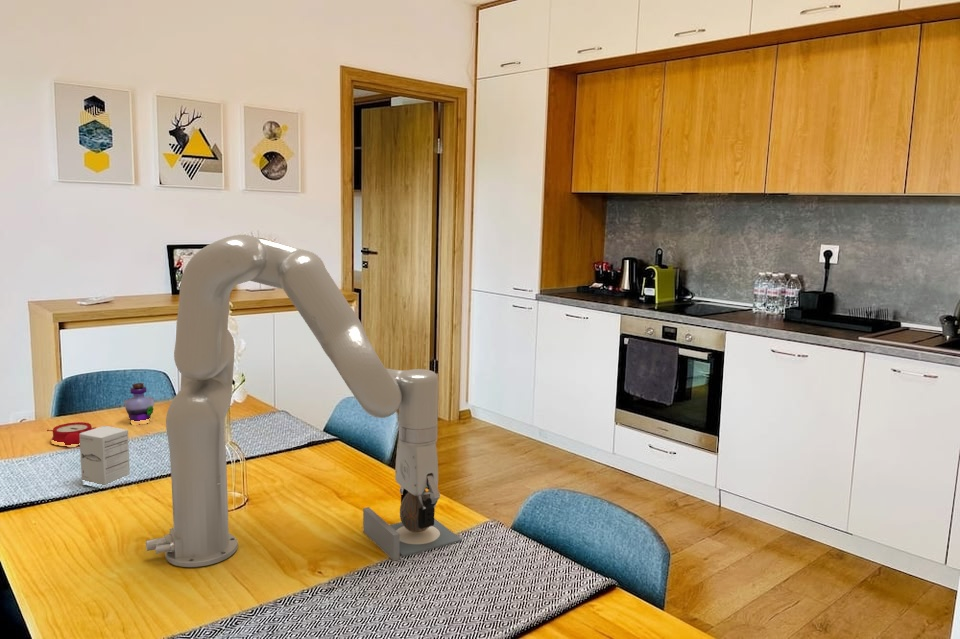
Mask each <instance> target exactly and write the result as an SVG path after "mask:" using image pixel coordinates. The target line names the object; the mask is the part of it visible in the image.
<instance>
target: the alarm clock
mask: <svg viewBox="0 0 960 639" xmlns="http://www.w3.org/2000/svg"><path fill="white" fill-rule="evenodd" d="M95 428H97V427H92V424H91V423H89V422H82V421H80V422H79V421H78V422H67V423H62V424H58V425H56V426H54V427H53V428H52V429H47V430H46V431H47V432H52V438H51V440H54V441H57V442H64V443H65V445H71V444H79V443H80V437H79V434H80V433H82V432H86V431H89V430H92V429H95Z"/></svg>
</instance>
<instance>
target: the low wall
mask: <svg viewBox="0 0 960 639" xmlns="http://www.w3.org/2000/svg"><path fill="white" fill-rule="evenodd" d="M362 509H363V510H362V511H363V515H362V516H363V517H362V518H363V519H362V521H363V522H362V524H363V525H362V528H363V529H362V531H363V533H364V534H365V535H366V536H367V537H368V538H369V539H370V540H371V541H372V542H373V543H374V544H375V545H376V546H377V547H378V548H379V549H381V550H382V551H383V553H385V555H387V556H388V557H389V558H390V559H391V561H393V562H394V561H399V560H400V554H399V543H400V534H399V533H398V532H397V531H396V530H394V529H393V528H392V527H391V526H390V525H391V524H389V523H388V522H386V521H385V520H384V519H383V518H382V517H381V516H380V515H378V513H376V512H375V511H374V510H373V509H371V507H369V506H367V507H363V508H362Z"/></svg>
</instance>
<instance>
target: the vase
mask: <svg viewBox="0 0 960 639" xmlns="http://www.w3.org/2000/svg"><path fill="white" fill-rule="evenodd" d="M424 492H427V489H424ZM428 498H429V495H424V500H425V501H426V500H427V499H428ZM419 508H421V506H420V501H419V496H414V495H412V494H411V493H410V492H408V493H407V494H406V495H405V497H404V498H403V500H402V502H401V501H400V506H399V519H400V521H401V522H402V524H403V525H404V527H405V528H406V529H407V530H409V531H411V532H423V531H425V530H426V529H428V528H429V527H426V528H422V529H420V528H419V527H418V518H419ZM435 510H436V507H434V515H435V514H436V513H435Z"/></svg>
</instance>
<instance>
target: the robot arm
mask: <svg viewBox="0 0 960 639" xmlns="http://www.w3.org/2000/svg"><path fill="white" fill-rule="evenodd" d="M247 282H254V283H258V284H262V285H263V286H264V285H265V286H269V287H273V288H277V289H282V290H283V291H284V293H285V295H286V296H287V297H288V299H289V300H290V302H291V303H292V305H293V306H294V307H295V309H296V311H298V312H297V313H299V315H300V317H302V319H303V320H304V322H305V323H306V325H307V326H308V328H309V330H311V332H312V334H313V335H314V337H315V338H316V340H317V342H318V343H319V345H320V347H321V348H322V350H323V352H324V353H325V354H326V356H327V357H328V358H329V360H330V361H331V362H332V364H333V365H334V366H333V367H335V368H336V371H337V372H338V374H339V375H340V377H341V378H342V380H343V382H344V383H345V385H346V386H347V387H348V389H349V391H350V392H351V393H352V395H353V396H354V397H355V399H356V401H357V402H358V404H359V405H360V406H361V408H362V410H364V412H365V413H366V414H368V415H370V417H373V418H378V419H384V418H388V417H391V416H393V415H395V413H396V412H398V441H397V446H396V447H397V448H396V458H395V469H394V470H395V472H394V474H395V477H394V478H395V482H396V483H397V484H398V485H399V486H400V488H399V493H400V503H401V502H402V500H403V498H404V497H405V495H406V494H407V493H408V492H410V493H411V494H412V495H414V496H419V501H420V506H421V508H419V518H418V527H419V528H420V529H422V528H426V527H430V526H433V525H434V518H435V514H434V507H435V508H436V506H437V503H438V501H439V499H440V498H441V494H440V493H441V492H440V491H439V489H438V487H439V486H438V484H439V464H438V449H437V442H438V421H439V420H438V416H439V415H438V412H439V409H438V408H439V406H438V405H439V376H438V374H436V372H435V371H433V370H430V369H424V368H413V369H406V370H403V369H402V370H401V369H400V370H399V369H392V368H386V366H385V365H384V364H383V362H382V361H381V359H380V357H379V355H378V354H377V352H376V351H375V349H374V347H373V345H372V343H371V341H370V340H369V337H368V336H367V333H366V332H365V328H364V326H363V324H362V322H361V320H360V319H359V316H358V315H357V314H356V312H355V310H354V309H353V308H352V306H351V305H350V304H349V302H348V301H347V299H346V297H345V296H344V294H343V293H342V291H341V290H340V288H339V286H338V285H337V284H336V282H335V281H334V279H333V277H332V275H330V273H329V272H328V270H327V269H326V266H325V263H324V261H323V260H322V258H321V257H320V256H318V255H317V254H316V253H314V252H313V251H309V250H304V249H301V248H297V247H292V246H288V245H284V244H281V243H278V242H274V241H272V240H267V239H264V238H261V237H257V236H254V235H249V234H236V235H231V236H227V237H224V238H222V239H219V240H217V241H214V242H212V243H209V244H208V245H207V244H206V246H204V247H203V248H201V249H199V250H198V251H197V252H196V253H195V254H194V255H193V256H192V257H191V258H190V259H189V261H188V262H187V264H186V266H185V268H184V270H183V273H182V276H181V281H180V285H179V287H180V288H179V296H178V309H177V318H176V333H175V344H174V352H173V358H174V359H173V360H174V363H175V367H176V368H177V370H178V372H179V373H180V387H179V388H180V390H179V391H178V392H177V394H176V395H175V396H174V397H173V399H172V401H171V402H170V404H169V406H168V408H167V412H166V417H165V418H166V419H165V424H166V425H165V427H166V434H167V435H166V436H167V442H168V448H169V460H170V476H171V477H170V478H171V499H172V502H171V504H172V523H173V524H172V525H173V527H172V528H169V534H165V535H164V536H163V537H159V538H152V539H148V540H145V550H146V552H151V551H154V550H155V554H156V555H157V554H163V553H164V554H165V556H164V557H165V559H166V561H167V562H168V563H170V564H171V565H174V566H177V567H180V568H181V567H183V568H200V567H206V566H211V565H215V564H217V563H220V562H222V561H225V560H227V559H228V558H230V557H232V556H233V555H234V554H235V552H236V551H237V549H238V548H239V546H238V539H237V538H236V536H234V535H233V534H231V533H230V531H229V504H228V501H229V498H228V497H229V496H228V469H227V468H228V467H227V449H226V440H225V420H226V417H227V414H228V412H229V410H230V407H231V403H232V397H233V396H232V394H233V380H234V378H233V377H234V366H235V364H234V362H235V352H236V351H235V347H236V346H235V341H234V337H233V335H232V334H231V332H230V330H228V327H229V325H228V324H229V317H230V316H229V314H230V297H231V293H232V291H233V289H234V288H235V287H236V286H237V285H238V286H239V285H240V284H243V283H247ZM424 489H425V490H426V492H424ZM424 495H429V498H428V499H427V500H426V501H425V500H424Z"/></svg>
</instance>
